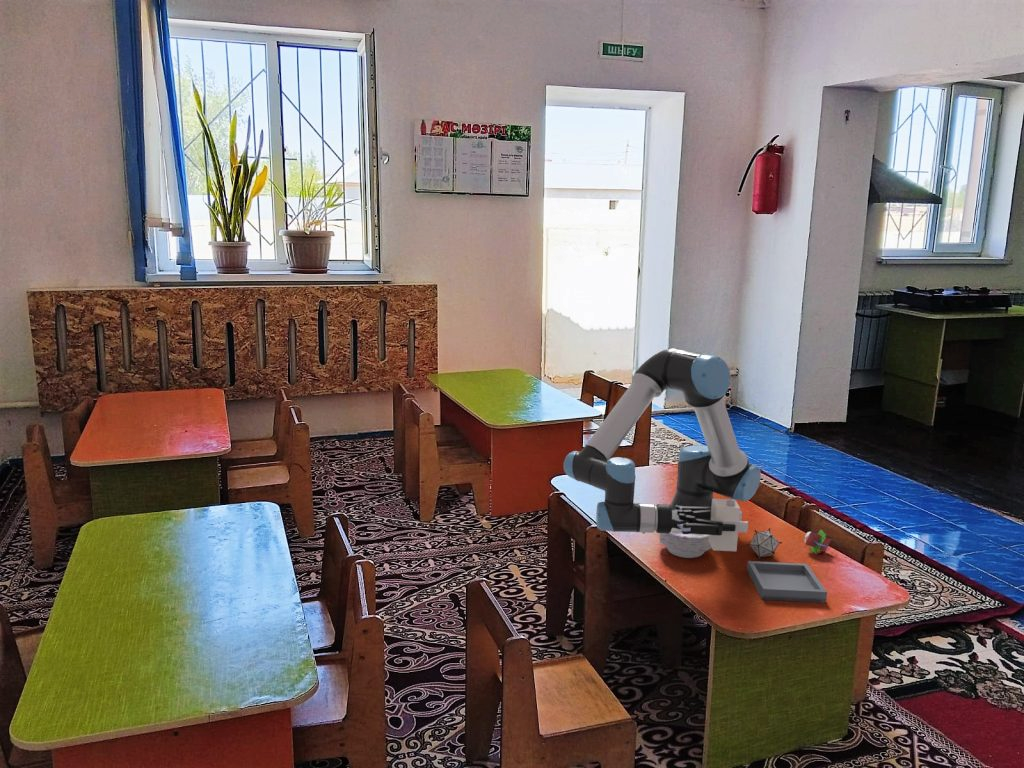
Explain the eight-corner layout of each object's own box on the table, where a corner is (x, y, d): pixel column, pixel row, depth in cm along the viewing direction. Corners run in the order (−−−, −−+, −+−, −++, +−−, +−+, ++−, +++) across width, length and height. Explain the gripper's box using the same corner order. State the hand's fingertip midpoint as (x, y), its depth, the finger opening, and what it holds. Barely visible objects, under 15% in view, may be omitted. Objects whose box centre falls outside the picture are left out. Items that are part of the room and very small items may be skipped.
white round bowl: (663, 562, 216) (665, 536, 214) (654, 539, 230) (656, 515, 229) (718, 564, 215) (720, 537, 214) (705, 541, 230) (707, 516, 229)
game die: (768, 570, 220) (784, 554, 213) (740, 558, 221) (755, 540, 214) (772, 546, 226) (788, 529, 219) (745, 534, 227) (760, 516, 220)
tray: (746, 571, 211) (747, 561, 211) (805, 573, 211) (806, 563, 210) (762, 599, 196) (763, 588, 195) (825, 602, 195) (827, 592, 194)
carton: (708, 540, 206) (712, 495, 203) (731, 541, 206) (735, 495, 203) (713, 550, 200) (716, 503, 197) (736, 551, 200) (740, 504, 197)
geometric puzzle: (830, 540, 228) (816, 520, 226) (841, 550, 221) (827, 529, 220) (809, 553, 229) (796, 533, 227) (820, 563, 222) (806, 543, 220)
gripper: (650, 517, 212) (734, 520, 211) (659, 547, 194) (752, 550, 193) (651, 491, 210) (737, 494, 209) (661, 519, 192) (754, 522, 191)
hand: (744, 521), depth 201 cm, fingers closed on carton, 6 cm apart
